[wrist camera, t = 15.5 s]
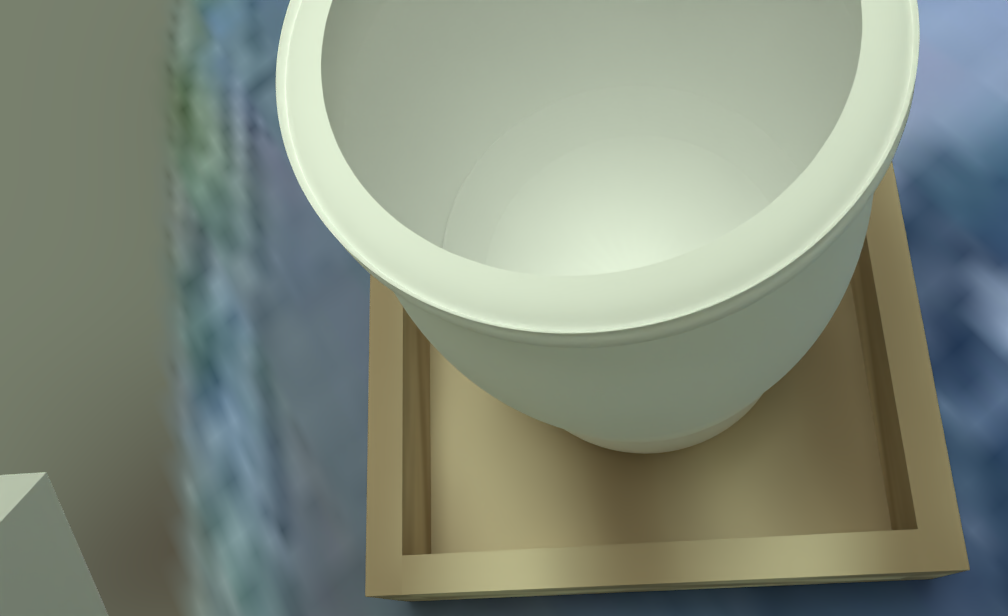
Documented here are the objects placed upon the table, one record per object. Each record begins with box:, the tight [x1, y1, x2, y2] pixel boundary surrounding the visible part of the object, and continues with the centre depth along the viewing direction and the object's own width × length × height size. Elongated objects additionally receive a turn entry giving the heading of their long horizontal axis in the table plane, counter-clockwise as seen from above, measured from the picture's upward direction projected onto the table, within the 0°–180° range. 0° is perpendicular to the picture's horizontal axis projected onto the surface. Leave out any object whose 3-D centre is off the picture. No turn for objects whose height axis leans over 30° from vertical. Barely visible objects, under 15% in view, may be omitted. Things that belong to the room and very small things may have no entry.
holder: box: [365, 161, 970, 601], centre depth 28 cm, size 15×16×4 cm
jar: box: [276, 0, 919, 454], centre depth 22 cm, size 11×10×15 cm
